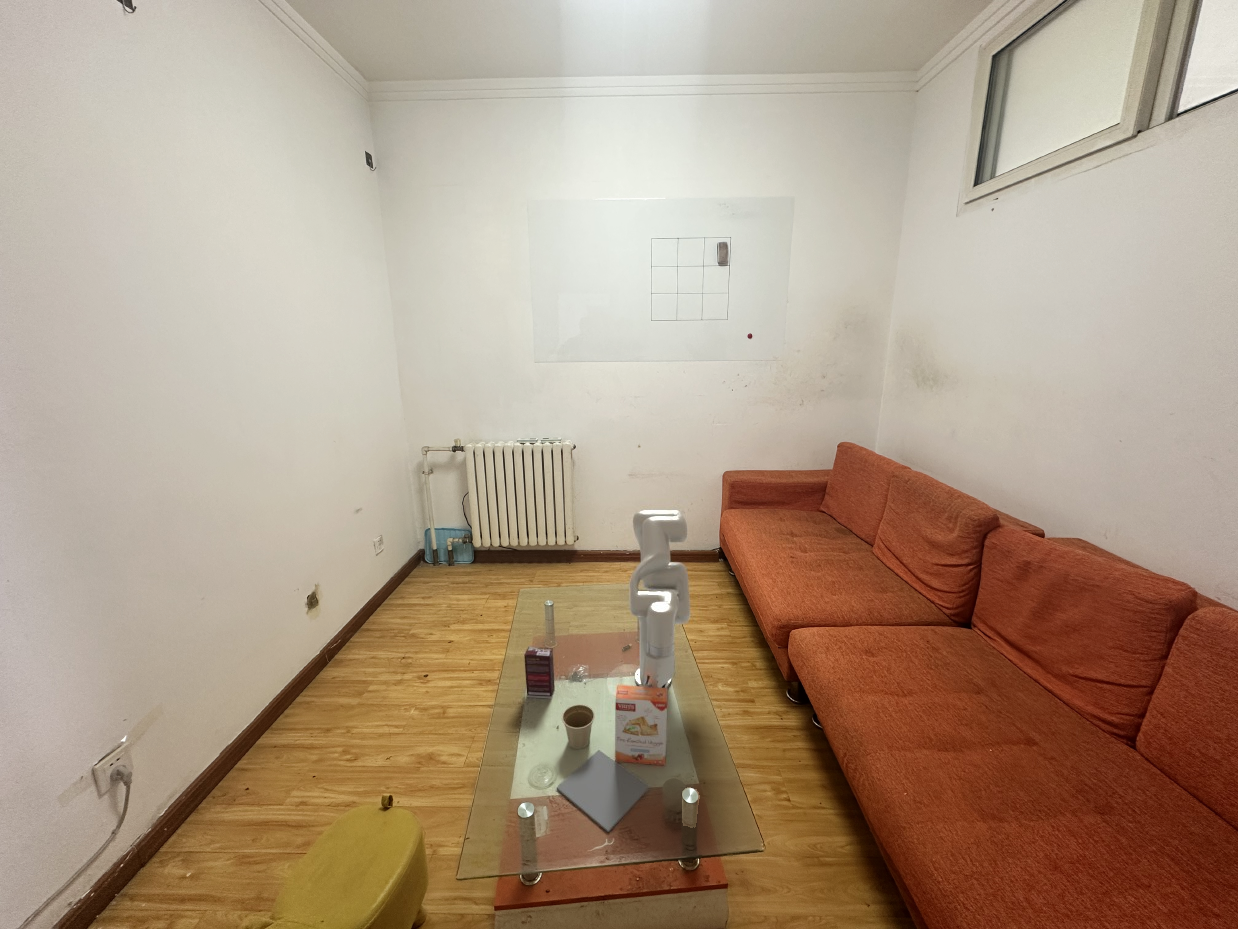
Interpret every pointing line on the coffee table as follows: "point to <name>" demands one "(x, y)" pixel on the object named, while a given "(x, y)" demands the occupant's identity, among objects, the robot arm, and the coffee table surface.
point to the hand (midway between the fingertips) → (659, 702)
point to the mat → (603, 789)
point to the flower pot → (578, 725)
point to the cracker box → (640, 724)
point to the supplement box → (539, 672)
